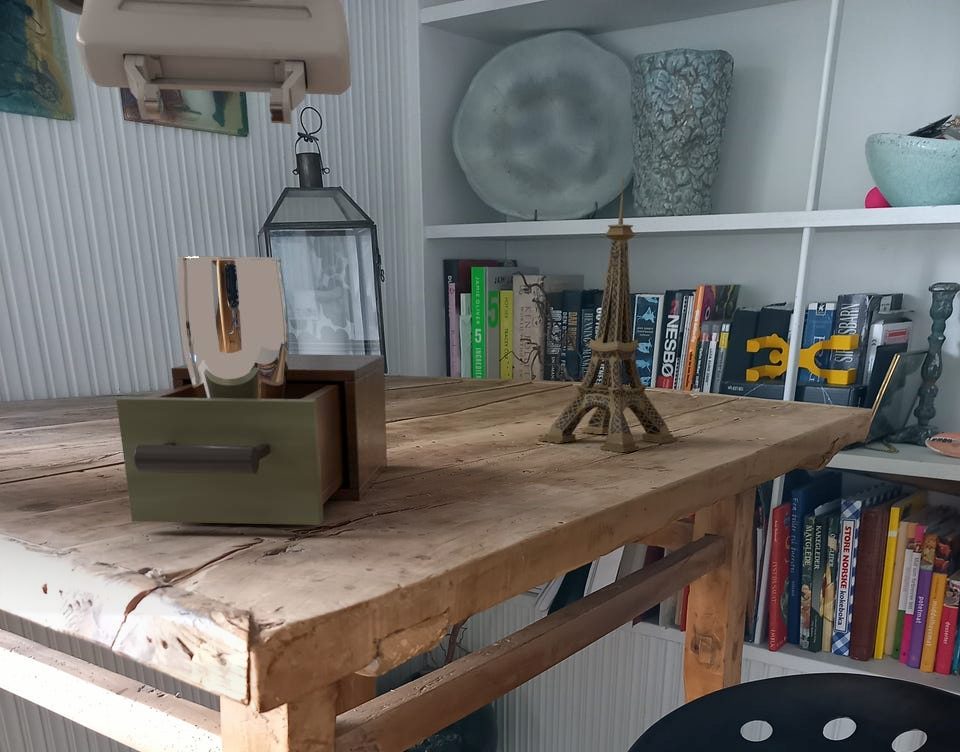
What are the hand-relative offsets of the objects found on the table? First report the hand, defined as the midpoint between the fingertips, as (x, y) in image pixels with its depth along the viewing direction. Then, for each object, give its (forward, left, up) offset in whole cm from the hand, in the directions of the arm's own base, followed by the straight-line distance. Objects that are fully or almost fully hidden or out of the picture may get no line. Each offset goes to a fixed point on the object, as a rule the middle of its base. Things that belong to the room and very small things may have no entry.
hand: (215, 113), depth 69 cm
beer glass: (+4, -13, -25) cm, 29 cm away
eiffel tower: (+32, +23, -27) cm, 48 cm away
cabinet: (+4, 0, -27) cm, 27 cm away
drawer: (+4, -15, -26) cm, 30 cm away
